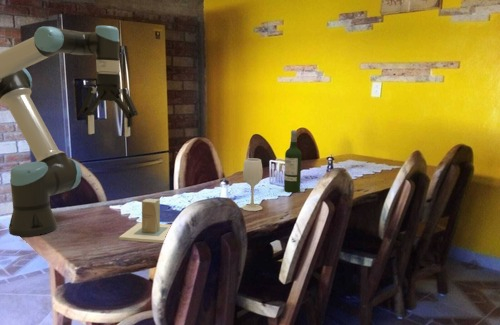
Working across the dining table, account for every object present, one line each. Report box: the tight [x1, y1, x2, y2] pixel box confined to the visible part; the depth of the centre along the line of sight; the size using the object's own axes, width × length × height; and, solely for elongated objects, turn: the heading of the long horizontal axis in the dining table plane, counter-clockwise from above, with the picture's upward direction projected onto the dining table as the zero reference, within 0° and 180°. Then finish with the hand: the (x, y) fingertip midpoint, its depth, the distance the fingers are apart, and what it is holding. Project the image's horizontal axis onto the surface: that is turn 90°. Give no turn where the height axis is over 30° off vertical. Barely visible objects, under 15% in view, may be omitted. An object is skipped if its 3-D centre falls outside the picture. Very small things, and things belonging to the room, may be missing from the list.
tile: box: [118, 221, 172, 244], centre depth 153 cm, size 16×16×1 cm
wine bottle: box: [283, 130, 302, 194], centre depth 214 cm, size 8×8×30 cm
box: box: [141, 198, 161, 233], centre depth 151 cm, size 5×4×11 cm
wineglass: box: [241, 157, 263, 212], centre depth 184 cm, size 9×9×21 cm
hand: (109, 135), depth 154 cm, fingers open, 13 cm apart
